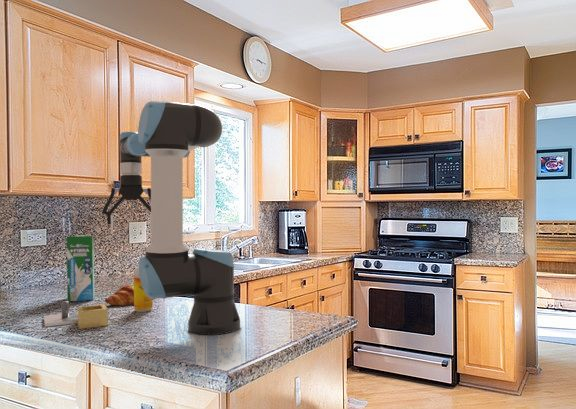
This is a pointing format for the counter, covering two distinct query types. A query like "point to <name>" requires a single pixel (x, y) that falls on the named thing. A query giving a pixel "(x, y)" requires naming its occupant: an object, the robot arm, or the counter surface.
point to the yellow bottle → (140, 295)
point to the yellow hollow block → (92, 316)
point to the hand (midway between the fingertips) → (131, 233)
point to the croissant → (122, 296)
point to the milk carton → (80, 268)
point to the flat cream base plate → (61, 316)
